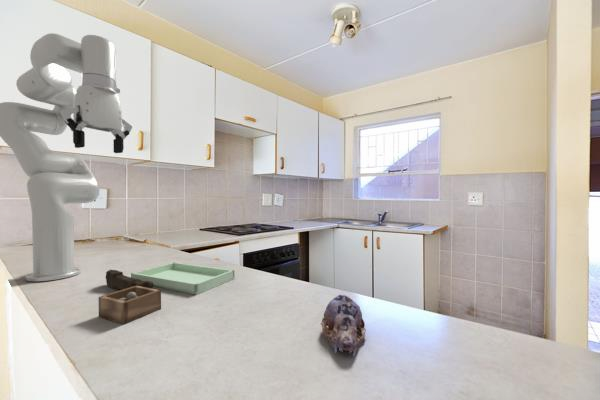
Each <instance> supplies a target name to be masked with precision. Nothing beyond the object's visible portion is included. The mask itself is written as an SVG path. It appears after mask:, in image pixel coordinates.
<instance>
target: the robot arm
mask: <svg viewBox="0 0 600 400" xmlns="http://www.w3.org/2000/svg"><path fill="white" fill-rule="evenodd" d="M29 54H30V55H29V56H30V57H29V58H30V63H31V65H32V67H31V68H30V69H28V70H27V71H25V72H24V73H22V74H21V75H20V76H18V78H17V80H16V88H17V90H18V91H19V93H20V94H22V95H23V96H25V97H26V98H28V99H30V100H33V101H36V102H40V103H43V104H49V105H52V106H54V107H53V110H51V109H48V108H43V107H39V106H35V105H30V104H27V103H21V102H14V101H13V102H12V101H5V102H0V138H1V139H2V141H3V142H4V143H6V145H7V146H9V148H10V149H11V150H12V152H13V154H14V156H15V158H16V159H17V161H18V163H19V165H20V167H21V168H22V170H23V172H24V173H25V174H26V176H28V177H29V178H28V180H27V183H26V188H27V189H26V190H27V195H28V198H29V202H30V208H31V224H32V225H31V226H32V228H31V230H32V272H31V273H28V274H27V275H26V276H25V280H26V281H28V282H48V281H57V280H61V279H66V278H70V277H71V278H72V277H73V276H77V275H79V274H81V268H80V267H79V266H75V225H74V224H75V223H74V217H73V213H72V212H71V211H70V210H69V209H68V208H67V207H66V205H68V204H89V203H93V202H95V201H96V200H97V199H98V197H99V196H100V186H99V183H98V180H97V179H96V176H95V175H94V174H93V171H92V170H91V169H90V167H89V166H88V164H87V163H86V161H85V160H84V158H83V157H81V156H79V155H77V154H74V153H72V152H71V153H69V152H61V151H56V150H51V149H50V147H48V145H47V143H46V141H45V140H43V138H41V137H40V136H38V135H37V134H35V133H38V134H45V135H51V136H58V135H62V134H63V133H64V132H65V131H66V129H67V127H69V128H70V131H71V132H72V142H73V144H74V148H76V149H81V148H85V145H86V144H85V143H86V141H85V139H86V138H85V137H86V135H85V130H83V129H84V128H87V129H91V130H97V131H102V132H107V133H111V134H112V135H113V137H114V139H112V141H113V153H114V154H122V153H124V147H125V146H124V140H125V139H126V138H127V137H128V136H129V135H130V133H131V130H133V126H132V125H131V124H130V123H129V122H127V121H126V120H125V119H123V116H122V107H121V101H120V97H119V94H120V93H121V89H120V88H118V87H117V77H116V75H117V74H116V73H117V70H116V68H117V67H116V66H117V64H116V63H117V61H116V58H117V57H116V56H117V55H116V47H115V45H114V44H113V42H111V41H110V40H109V39H108V38H105V37H103V36H100V35H95V34H86V35H83V36H82V38H81V39H80V42H78V41H75V40H73V39H70V38H68V37H66V36H64V35H62V34H57V33H53V32H51V33H46V34H44V35H42V37H40V38H39V39H38V40H36V41H35V42H34V43H33V45H32V47H31V50H30V53H29ZM67 69H68V70H70V71H73V72H76V73H79V74H80V75H81V85H79V86H77V89H76V88H75V87H74V85H72V82H73V80H72V76H71V74H70V72H69V71H68V70H67ZM72 115H73V118H72ZM122 127H123V130H122ZM65 204H66V205H65Z"/></svg>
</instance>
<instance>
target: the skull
mask: <svg viewBox="0 0 600 400" xmlns="http://www.w3.org/2000/svg"><path fill="white" fill-rule="evenodd" d="M320 325H321V327H322V330H321V331H322V334H323V335H324V336H325V337H326V338H327V340H328V341H329V345H330V346H331V347H332V348H333V349H334V353H335V354H336V353H337V352H338V349H339V351H340V352H343V350H344V351H349V352H348V353H352V352H353V353H352V355H353V358H354V357H355V356H356V352H357V350H358V349H359V344H360V343H361V342H363V340H364V339H365V337H366V330H367V329H366V328H365V325H366V324H365V321H364V319H363V313H362V310H361V307H360V305H358V303H356V302H355V300H353V299H352V298H351V297H350V296H349V295H346V294H338V295H337V296H335V297H334V298H332V299H331V300H330V301H329V302H328V303H327V306H326V308H325V311H324V312H323V318H322V319H321V322H320ZM358 333H360V334H361V336H360V335H359V334H358Z"/></svg>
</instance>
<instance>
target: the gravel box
mask: <svg viewBox="0 0 600 400" xmlns="http://www.w3.org/2000/svg"><path fill="white" fill-rule="evenodd" d="M159 310H162V290H160V289H156V288H153V289H152V288H147V287H142V286H137V285H136V286H133V287H130V288H127V289H123V290H121V289H119V290H117V291H114V292H110V293H107V294H104V295H100V296H98V318H102V319H105V320H108V321H113V322H115V323H119V324H122V325H126V324H128V323H130V322H131V323H132V322H133V321H136V320H138V319H140V318H143V317H146V316H148V315H149V314H152V313H154V312H157V311H159Z"/></svg>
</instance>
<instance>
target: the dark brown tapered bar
mask: <svg viewBox="0 0 600 400" xmlns="http://www.w3.org/2000/svg"><path fill="white" fill-rule="evenodd" d="M105 279H106V285H107V287H109V289H111V290H123V289H127V288H130V287H133V286H136V285H137V286H142V287H147V288H152V289H154V288H155V287H154V285H153V282H151V281H142V280H140V279H134V278H131V276H128V275H124V272H123V271H120V270H117V269H109V270H107V271H106V272H105Z"/></svg>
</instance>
